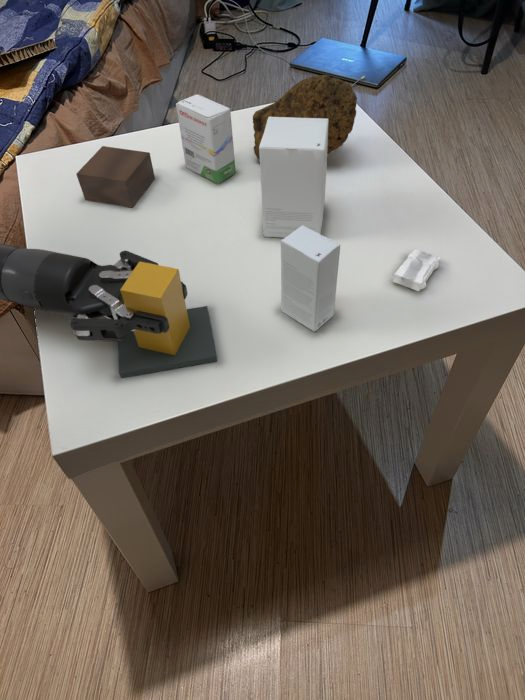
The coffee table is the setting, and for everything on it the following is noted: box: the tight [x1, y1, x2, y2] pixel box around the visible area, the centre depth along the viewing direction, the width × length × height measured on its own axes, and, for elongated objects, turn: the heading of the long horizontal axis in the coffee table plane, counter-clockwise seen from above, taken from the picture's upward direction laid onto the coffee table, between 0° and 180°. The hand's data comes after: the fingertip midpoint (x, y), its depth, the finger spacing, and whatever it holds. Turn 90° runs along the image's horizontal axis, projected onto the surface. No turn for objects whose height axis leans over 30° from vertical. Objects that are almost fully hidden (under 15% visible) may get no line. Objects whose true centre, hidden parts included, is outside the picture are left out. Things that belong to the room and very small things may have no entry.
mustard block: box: [120, 262, 190, 355], centre depth 63 cm, size 5×5×10 cm
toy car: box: [392, 248, 441, 292], centre depth 74 cm, size 5×8×2 cm, turn 147°
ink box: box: [175, 93, 237, 185], centre depth 89 cm, size 8×5×12 cm, turn 47°
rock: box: [252, 74, 358, 160], centre depth 92 cm, size 13×12×20 cm
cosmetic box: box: [280, 225, 341, 333], centre depth 66 cm, size 6×4×12 cm
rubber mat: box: [117, 305, 218, 379], centre depth 67 cm, size 12×9×1 cm
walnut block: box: [76, 145, 156, 209], centre depth 89 cm, size 9×9×5 cm
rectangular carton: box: [259, 117, 328, 239], centre depth 77 cm, size 9×9×15 cm
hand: (176, 308), depth 62 cm, fingers closed on mustard block, 5 cm apart
